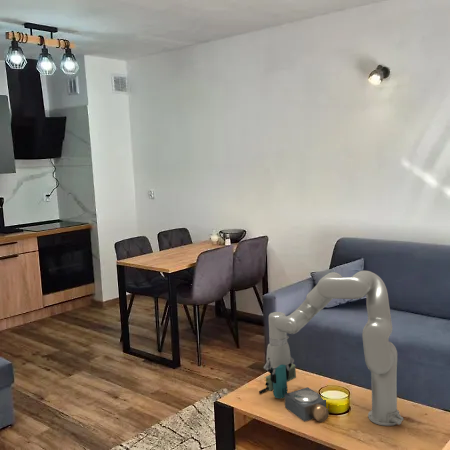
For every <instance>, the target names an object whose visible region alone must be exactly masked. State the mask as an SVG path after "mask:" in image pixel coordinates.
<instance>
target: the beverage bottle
mask: <svg viewBox="0 0 450 450" xmlns="http://www.w3.org/2000/svg"><path fill="white" fill-rule="evenodd" d="M272 370H273V368H272ZM286 374H287V373H286V365H284V364H282V365H279V366H278V367H277V368H275V375H276V383H272V384H273V390H272V391H273V392H272V393H273V397H274V398H276V399H285V394H287V393H289V392H288V382H287V376H286Z"/></svg>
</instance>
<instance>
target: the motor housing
mask: <svg viewBox="0 0 450 450" xmlns="http://www.w3.org/2000/svg"><path fill="white" fill-rule="evenodd" d="M320 395H321V394H319V393H318V392H316V391H315V390H313V389H311V388H310V387H304V388H299V389H298V390H294V391H290V392H288V393H287V394H285V398H284V408H285V409H286V410H288V412H290V413H292V414H293V415H295V416H296V417H297V418H299V419H301V420H302V421H303V422H308V421H311V420H314V419H315V420H316V421H318V422H319V423H323V422H325V421H327V419H328V417H329V415H330V412H329V411H328V410H329V408H328V409H327V408H326V400H323V399H322V398H321V397H320Z"/></svg>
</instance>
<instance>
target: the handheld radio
mask: <svg viewBox="0 0 450 450" xmlns="http://www.w3.org/2000/svg"><path fill="white" fill-rule="evenodd" d="M264 378H265V380H264V381H265V383H264V384H265V386H266V387H265V388H263V389H261V390H259V391H258V394H259V395H261V394H262V393H265V392H267V391H269V392H271V391H273V384H272V383H273V382H272V381H271V378H270V374H268V375H267V376H265V377H264ZM296 378H297V371H296V364H294V363H293V364H292V366H291V367H290V370H289V379H288V380H287V383H288V382H290V381H292V380H294V379H296Z"/></svg>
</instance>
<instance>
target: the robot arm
mask: <svg viewBox="0 0 450 450" xmlns="http://www.w3.org/2000/svg"><path fill="white" fill-rule="evenodd" d="M364 297H366V310H367V311H366V312H367V322H366V323H365V325H364V327H363V329H362V343H363V353H364V361H365V364H366V367H367V369H368V370H369V371H370V374H371V375H370V377H371V378H370V379H371V380H370V381H371V410H369V411H368V413H367V417H368V420H369V421H371V422H372V423H374V424H375V425H379V426H385V427H391V426H396V425H401V424H402V421H404V417H403V416H401V414H400V411H399V409H398V405H397V404H398V403H397V401H398V397H397V395H398V394H397V392H398V391H397V386H398V385H397V378H398V377H397V367H398V350H397V348H396V346H395V345H394V343H392V342H391V341H389V340H390V339H389V338H390V337H391V335H392V332H393V323H392V317H391V308H390V300H389V294H388V289H387V287H386V284H385V282H384V281H383V279H382V278H381V277H380V276H379V275H378V274H376V273H374V272H372V271H370V270H360V271H357V272H356V273H355V274H353V275H352V276H351V277H349V276H348V277H347V276H346V277H343V276H342V275H341V274H340V273H338V272H334V271H332V272H329V273H327V274H326V275H324V276H322V277H321V278H320V279H319V280H318V282H317V284H316V285H315V286H314V287H313V288H312V289H311V290H310V291H309V292H308V293H307V294H306V298H305V299H304V301H302V303H301V304H300V305H299V306H298V307H297V308H296V309H295V310H294V311H292V312H291V313H289V315H286V313H284V312H283V311H282V312H281V311H274V312H270V313H269V315H268V333H269V334H268V335H269V336H268V337H269V343H268V344H267V346H266V347H267V348H266V363H265V365H264V366H263V369H264V370H266V371H267V372H268V373H269V375H270V378H271V381H272V382H273V383H276V375H275V368H277V367H278V366H279V365H282V364H284V365H286V373H287V374H286V376H287V380H288V379H289V370H290V367H291V366H292V364H294V362H295V359H294V358H293V357H292V356H291V351H290V350H291V349H290V345H289V342H288V340H289V339H290V337H289V335H295V334H297V333H298V332H300V331H301V330H302V329H303V328H304V327H305V326H306V325H308V323H309V322H310V321H312V319H313V318H314V317H315V316H316V315H317V314H318V313H319V312H320V311H322V310H323V309H324V308H325V307H326V306H327V305H328V304H330V302H331V301H332V300H333V299H334V300H357V299H361V298H364ZM288 334H289V335H288ZM272 368H273V370H272Z"/></svg>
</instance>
